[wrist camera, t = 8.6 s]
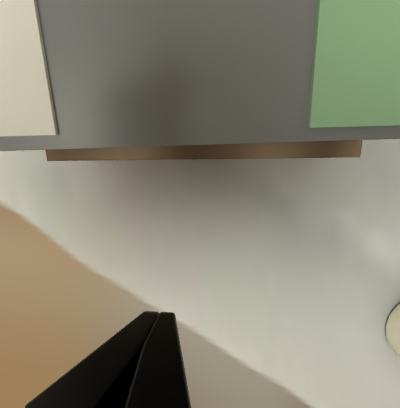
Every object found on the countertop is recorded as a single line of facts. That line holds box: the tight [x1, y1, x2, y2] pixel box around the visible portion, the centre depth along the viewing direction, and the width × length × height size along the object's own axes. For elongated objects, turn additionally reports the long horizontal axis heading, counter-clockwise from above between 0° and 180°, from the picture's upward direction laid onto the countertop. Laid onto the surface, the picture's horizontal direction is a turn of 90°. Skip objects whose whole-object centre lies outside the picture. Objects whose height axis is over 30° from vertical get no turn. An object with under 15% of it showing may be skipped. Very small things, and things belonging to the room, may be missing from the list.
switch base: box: [46, 140, 362, 161], centre depth 14 cm, size 16×9×6 cm, turn 92°
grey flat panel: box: [0, 0, 400, 151], centre depth 10 cm, size 18×7×2 cm, turn 91°
